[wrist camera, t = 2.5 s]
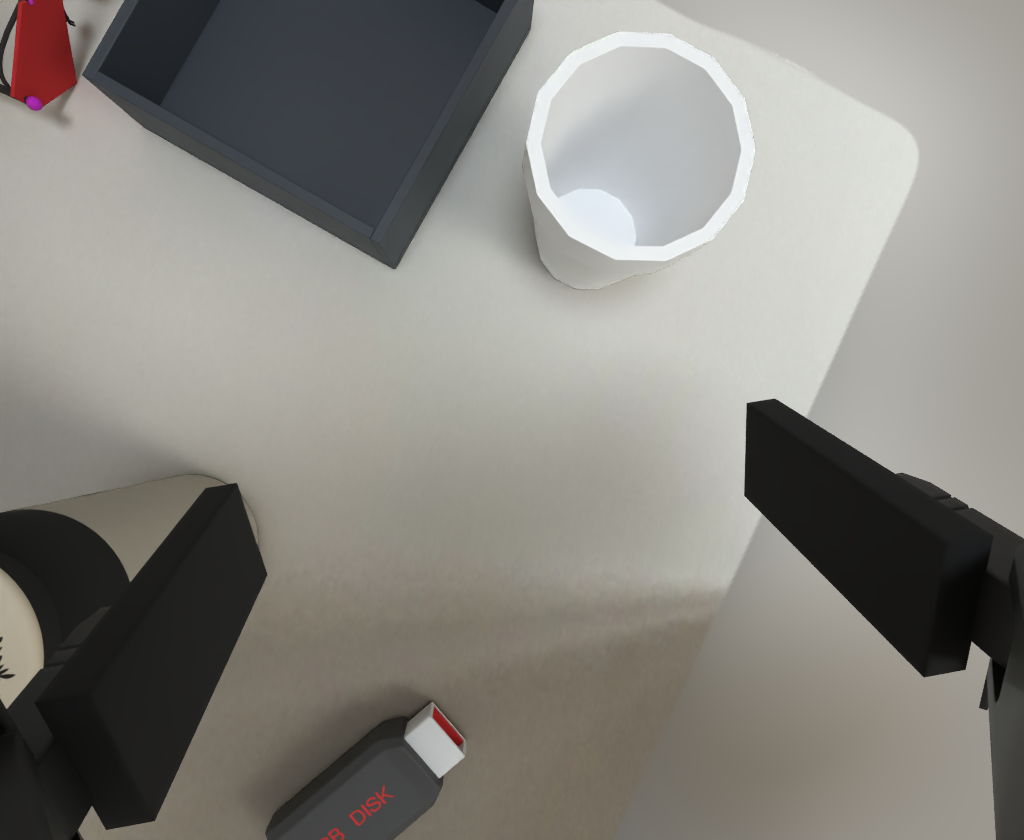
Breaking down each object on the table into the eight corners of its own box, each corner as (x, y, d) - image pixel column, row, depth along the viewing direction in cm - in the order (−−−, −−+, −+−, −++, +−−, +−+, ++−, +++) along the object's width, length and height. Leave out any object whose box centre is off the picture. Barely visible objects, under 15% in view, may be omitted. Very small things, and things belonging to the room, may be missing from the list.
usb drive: (272, 814, 37) (255, 847, 34) (422, 687, 37) (418, 709, 34) (327, 876, 37) (315, 914, 34) (476, 749, 37) (475, 776, 34)
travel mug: (278, 577, 37) (80, 737, 19) (153, 622, 36) (-172, 829, 18) (233, 455, 36) (-11, 498, 18) (107, 500, 36) (-268, 587, 18)
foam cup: (577, 133, 37) (627, -18, 24) (690, 228, 38) (799, 131, 25) (481, 250, 37) (480, 162, 24) (595, 345, 37) (655, 308, 24)
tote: (143, 127, 36) (81, 74, 30) (284, -118, 36) (248, -215, 30) (395, 270, 37) (379, 244, 31) (530, 29, 37) (539, -40, 31)
